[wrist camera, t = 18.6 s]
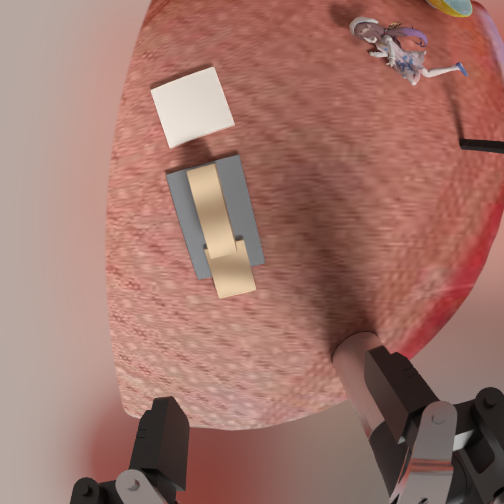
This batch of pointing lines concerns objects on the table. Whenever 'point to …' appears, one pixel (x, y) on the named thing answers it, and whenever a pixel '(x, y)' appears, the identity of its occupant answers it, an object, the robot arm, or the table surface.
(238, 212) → the mat
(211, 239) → the beige wooden bar
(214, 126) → the tile
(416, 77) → the figurine
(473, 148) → the solar garden light
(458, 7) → the bowl
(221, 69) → the table surface
